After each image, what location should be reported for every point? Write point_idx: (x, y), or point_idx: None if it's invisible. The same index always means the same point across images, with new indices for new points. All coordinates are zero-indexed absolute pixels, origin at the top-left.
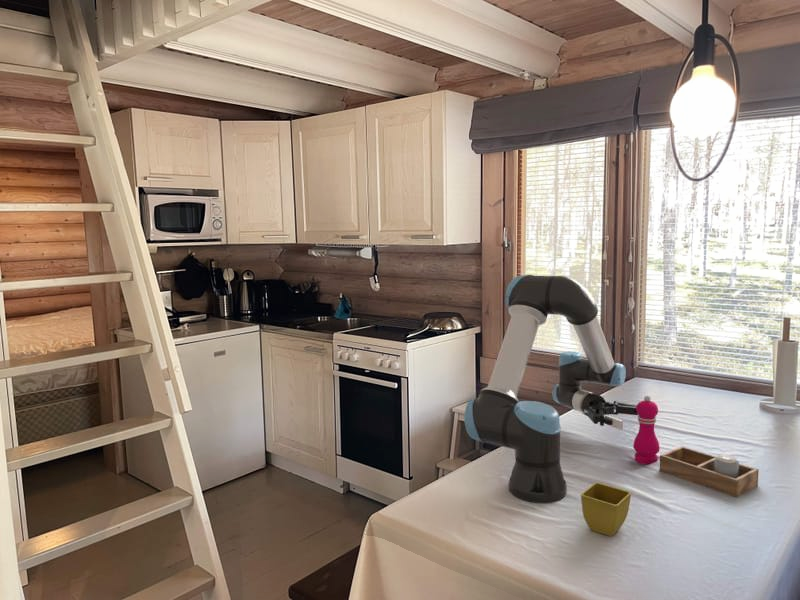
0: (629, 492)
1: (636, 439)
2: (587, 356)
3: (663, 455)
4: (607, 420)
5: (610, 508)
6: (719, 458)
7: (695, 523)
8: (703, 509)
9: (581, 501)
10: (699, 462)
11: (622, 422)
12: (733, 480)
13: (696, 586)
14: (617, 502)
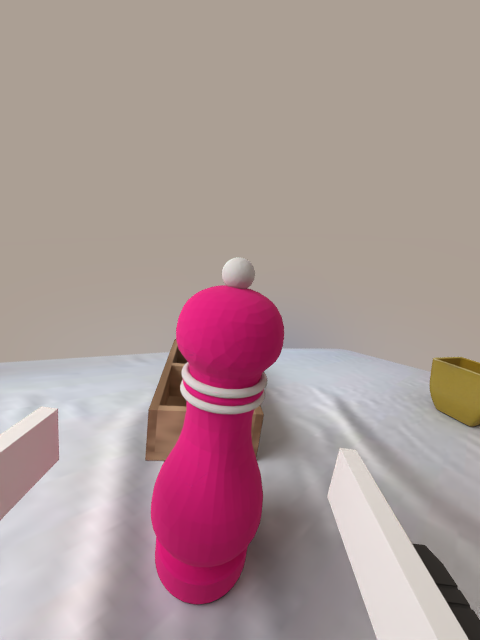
0: (435, 358)
1: (254, 489)
2: None
3: (255, 410)
4: (450, 581)
5: (468, 365)
6: None
7: (325, 379)
8: (291, 382)
9: None
10: (164, 403)
11: (339, 457)
12: None
13: (382, 361)
14: (448, 383)
